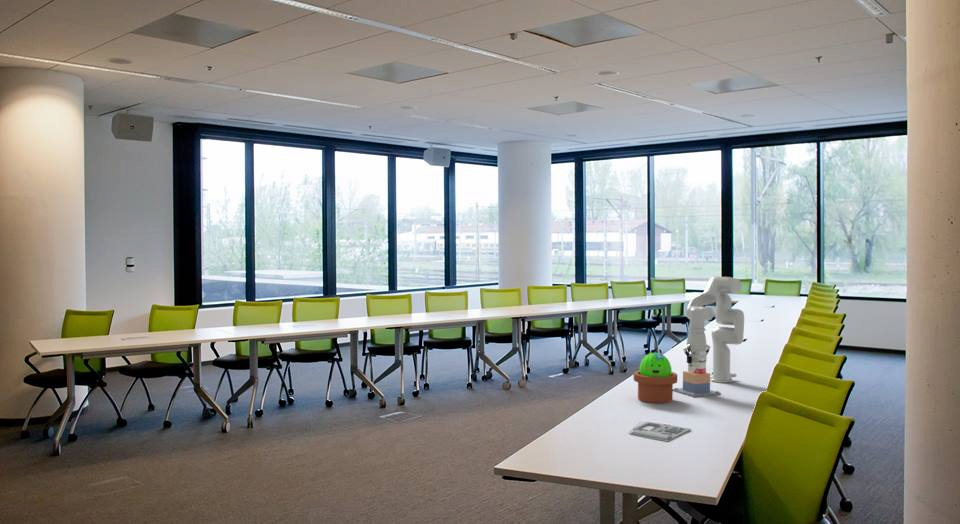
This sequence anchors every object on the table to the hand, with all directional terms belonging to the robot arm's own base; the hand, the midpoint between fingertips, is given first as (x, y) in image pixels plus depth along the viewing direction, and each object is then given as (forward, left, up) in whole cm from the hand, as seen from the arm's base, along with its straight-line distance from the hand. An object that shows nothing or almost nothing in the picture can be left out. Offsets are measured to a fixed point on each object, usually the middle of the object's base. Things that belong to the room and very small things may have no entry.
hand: (696, 362), depth 394 cm
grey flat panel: (+68, +59, -17) cm, 92 cm away
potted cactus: (+31, +6, -16) cm, 36 cm away
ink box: (0, 0, -6) cm, 6 cm away
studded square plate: (0, 0, -16) cm, 16 cm away
